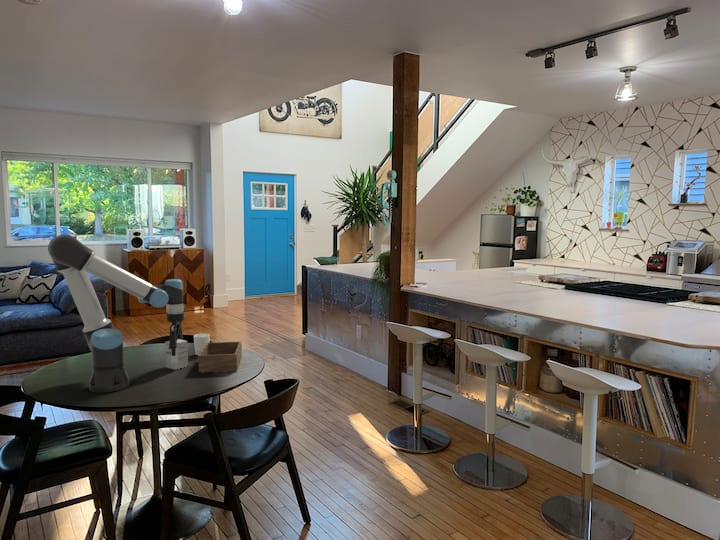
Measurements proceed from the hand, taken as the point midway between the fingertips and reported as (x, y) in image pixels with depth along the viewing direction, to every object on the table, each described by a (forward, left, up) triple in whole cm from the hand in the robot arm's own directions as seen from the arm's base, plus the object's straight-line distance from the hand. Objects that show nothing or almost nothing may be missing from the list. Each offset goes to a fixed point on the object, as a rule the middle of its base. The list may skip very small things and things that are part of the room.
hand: (177, 358), depth 242 cm
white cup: (+21, -8, -4) cm, 23 cm away
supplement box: (0, 0, -4) cm, 4 cm away
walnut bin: (+1, -20, -4) cm, 20 cm away
